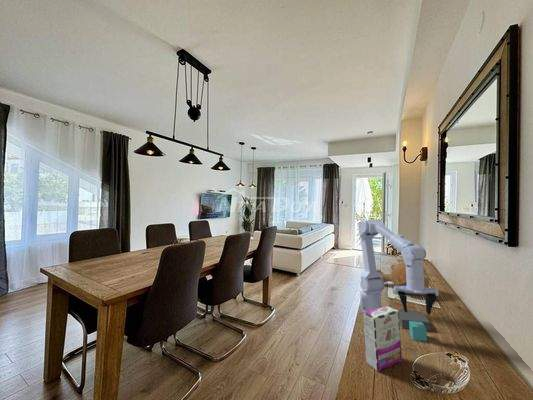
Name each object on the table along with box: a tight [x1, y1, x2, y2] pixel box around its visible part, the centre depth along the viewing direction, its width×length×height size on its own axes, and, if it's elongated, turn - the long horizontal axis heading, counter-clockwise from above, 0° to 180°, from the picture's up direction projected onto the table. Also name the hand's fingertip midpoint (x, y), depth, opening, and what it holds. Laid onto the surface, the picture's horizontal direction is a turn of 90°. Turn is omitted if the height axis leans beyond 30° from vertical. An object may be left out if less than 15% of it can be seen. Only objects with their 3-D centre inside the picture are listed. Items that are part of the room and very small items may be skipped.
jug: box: [377, 261, 430, 297], centre depth 138 cm, size 20×19×30 cm
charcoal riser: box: [396, 309, 431, 332], centre depth 99 cm, size 10×10×4 cm
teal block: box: [408, 321, 428, 342], centre depth 89 cm, size 4×4×5 cm
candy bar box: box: [362, 305, 403, 372], centre depth 75 cm, size 11×5×16 cm, turn 114°
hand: (416, 312), depth 89 cm, fingers open, 7 cm apart
